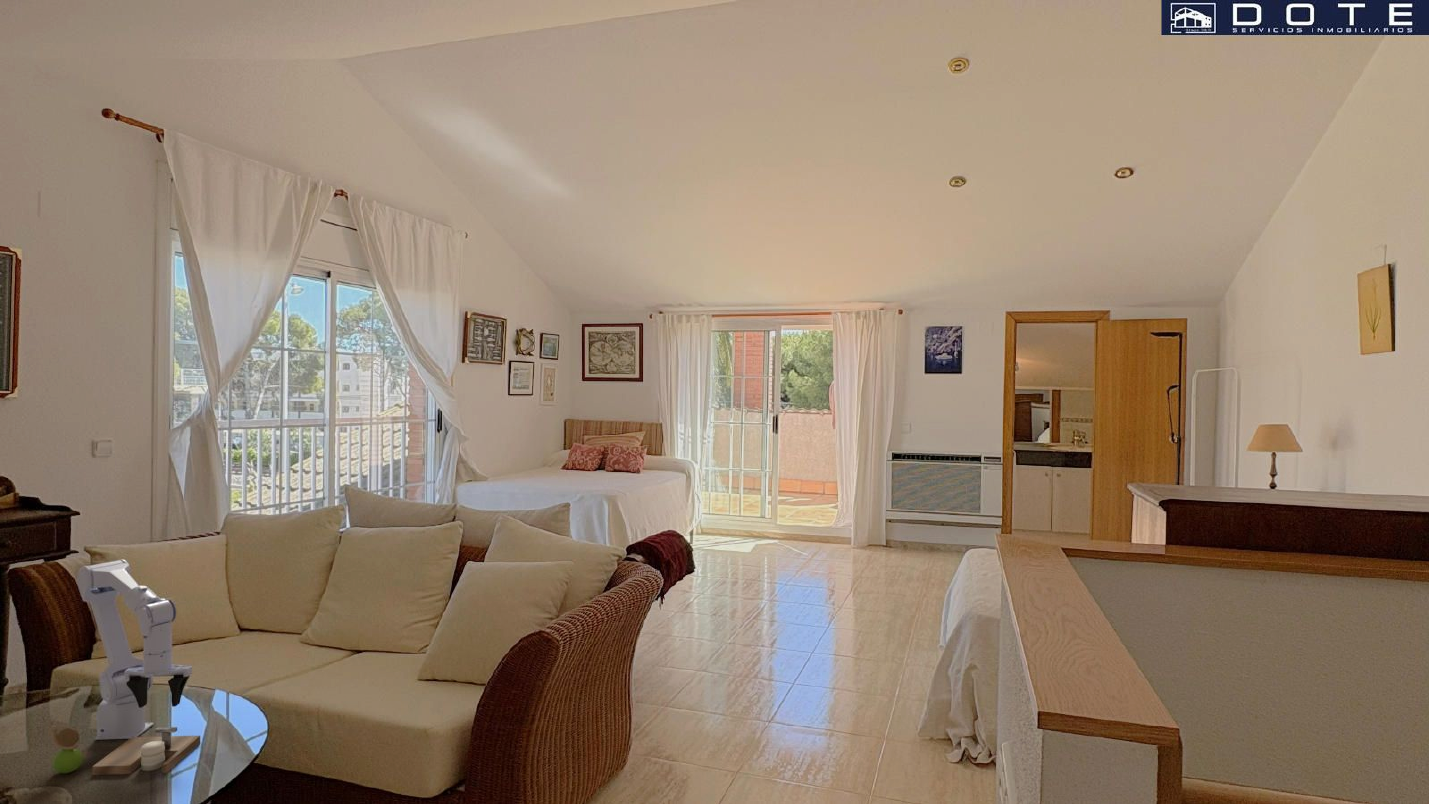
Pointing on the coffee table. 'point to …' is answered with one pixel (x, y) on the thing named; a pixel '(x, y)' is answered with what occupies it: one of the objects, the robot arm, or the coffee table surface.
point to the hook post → (166, 735)
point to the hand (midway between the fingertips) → (159, 705)
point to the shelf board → (130, 755)
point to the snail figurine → (66, 749)
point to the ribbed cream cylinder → (152, 755)
